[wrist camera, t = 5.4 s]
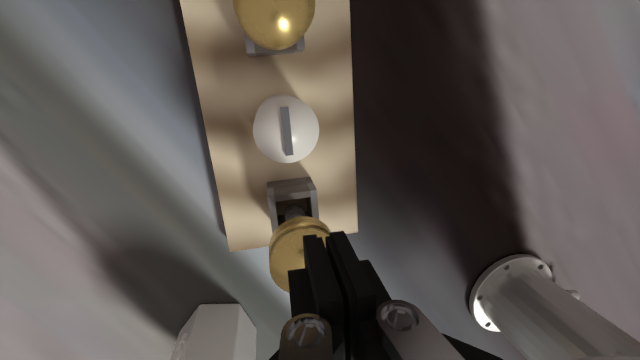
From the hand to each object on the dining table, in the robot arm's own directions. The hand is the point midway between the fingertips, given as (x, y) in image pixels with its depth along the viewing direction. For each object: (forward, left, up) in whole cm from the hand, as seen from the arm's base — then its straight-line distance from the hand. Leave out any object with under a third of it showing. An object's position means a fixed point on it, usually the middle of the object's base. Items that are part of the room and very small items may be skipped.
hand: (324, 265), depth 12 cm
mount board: (+1, -3, -21) cm, 21 cm away
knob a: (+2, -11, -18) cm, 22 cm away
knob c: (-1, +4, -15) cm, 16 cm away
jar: (+7, +23, -21) cm, 31 cm away
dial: (+1, -3, -19) cm, 19 cm away
